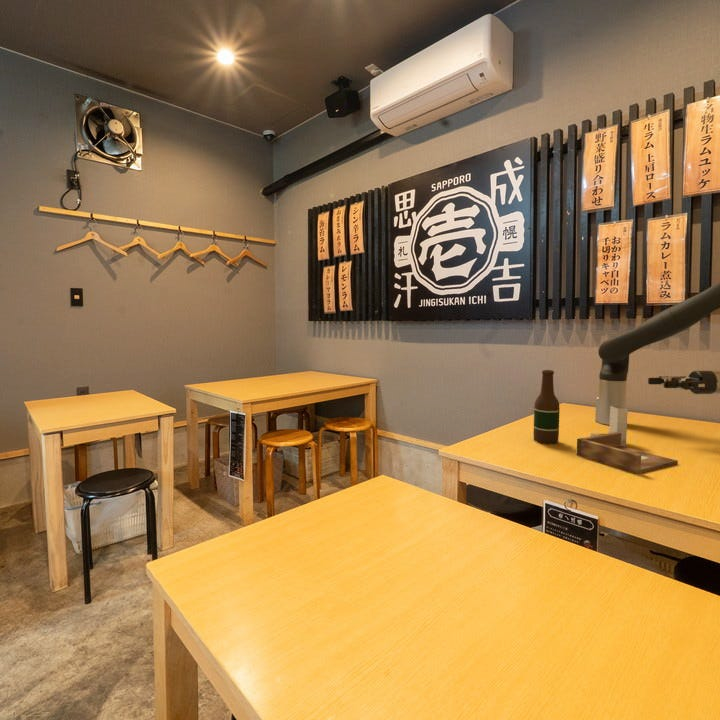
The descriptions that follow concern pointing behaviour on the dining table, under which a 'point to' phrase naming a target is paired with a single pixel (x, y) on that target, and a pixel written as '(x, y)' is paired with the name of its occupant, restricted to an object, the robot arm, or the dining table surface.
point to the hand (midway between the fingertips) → (656, 382)
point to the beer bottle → (546, 412)
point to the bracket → (617, 422)
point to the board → (647, 461)
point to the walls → (609, 450)
